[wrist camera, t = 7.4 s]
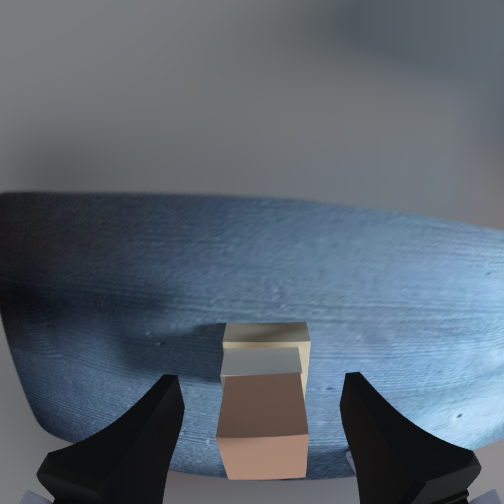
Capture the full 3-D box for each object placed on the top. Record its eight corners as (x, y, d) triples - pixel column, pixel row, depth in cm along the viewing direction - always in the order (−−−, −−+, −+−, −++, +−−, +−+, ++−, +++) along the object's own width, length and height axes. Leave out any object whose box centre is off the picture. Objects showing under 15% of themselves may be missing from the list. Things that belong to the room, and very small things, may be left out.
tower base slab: (305, 319, 23) (310, 341, 20) (300, 378, 25) (304, 402, 22) (227, 320, 23) (222, 341, 21) (231, 379, 25) (227, 402, 22)
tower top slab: (298, 346, 21) (302, 373, 18) (295, 397, 22) (298, 424, 19) (225, 347, 21) (220, 375, 18) (230, 398, 22) (227, 426, 19)
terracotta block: (300, 372, 18) (308, 434, 13) (299, 419, 19) (305, 476, 14) (225, 376, 18) (215, 437, 13) (234, 422, 19) (228, 479, 14)
